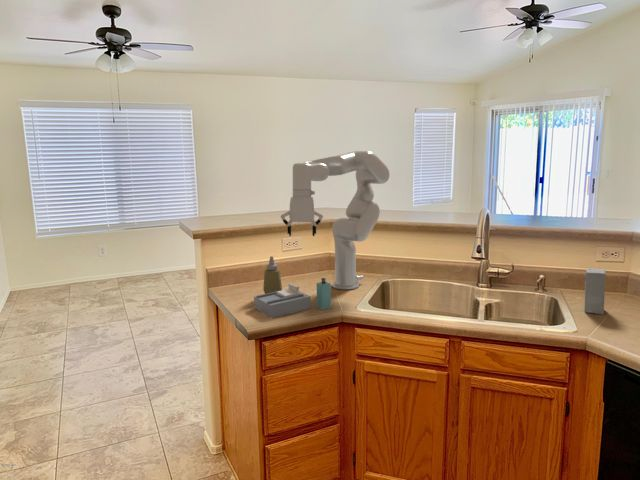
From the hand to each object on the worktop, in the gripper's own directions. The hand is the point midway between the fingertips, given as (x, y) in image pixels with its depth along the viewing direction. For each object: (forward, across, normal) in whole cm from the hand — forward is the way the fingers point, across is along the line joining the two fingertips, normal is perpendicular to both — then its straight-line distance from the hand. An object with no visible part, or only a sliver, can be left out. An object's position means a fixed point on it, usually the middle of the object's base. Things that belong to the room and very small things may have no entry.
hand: (301, 235), depth 191 cm
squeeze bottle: (+28, +12, -6) cm, 31 cm away
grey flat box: (+28, +8, +9) cm, 31 cm away
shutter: (+23, +6, +8) cm, 25 cm away
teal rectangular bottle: (+28, -9, +10) cm, 31 cm away
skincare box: (+26, -111, +25) cm, 117 cm away
